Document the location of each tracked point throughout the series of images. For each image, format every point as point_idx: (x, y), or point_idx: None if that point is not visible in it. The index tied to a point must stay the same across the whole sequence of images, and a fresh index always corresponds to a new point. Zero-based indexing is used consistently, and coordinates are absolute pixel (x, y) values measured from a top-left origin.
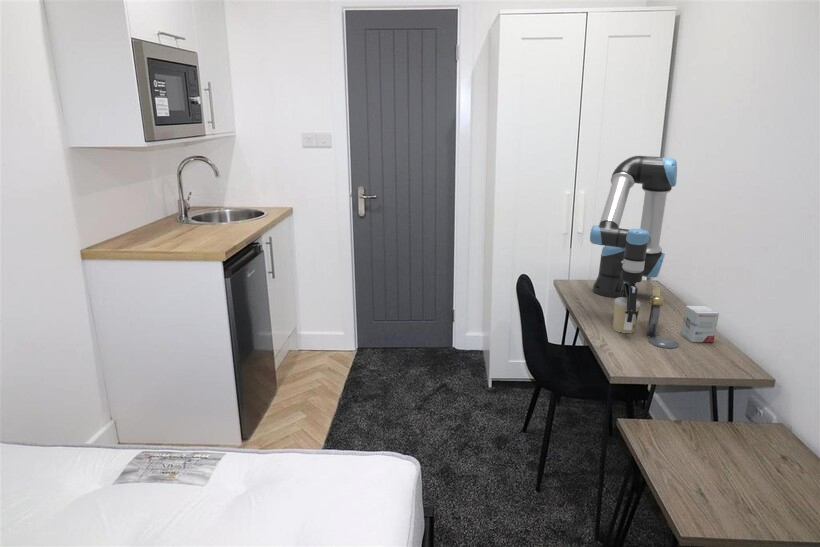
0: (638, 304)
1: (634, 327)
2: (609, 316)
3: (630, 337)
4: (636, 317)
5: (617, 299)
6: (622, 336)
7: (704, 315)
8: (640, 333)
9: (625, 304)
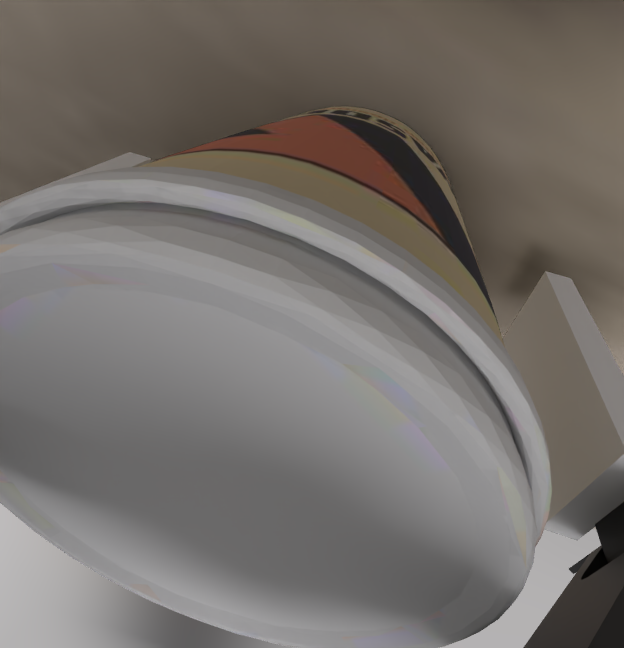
0: (498, 430)
1: (430, 154)
2: (17, 192)
3: (559, 242)
4: (450, 210)
5: (154, 583)
6: (513, 306)
7: None
8: (460, 45)
9: (435, 631)
